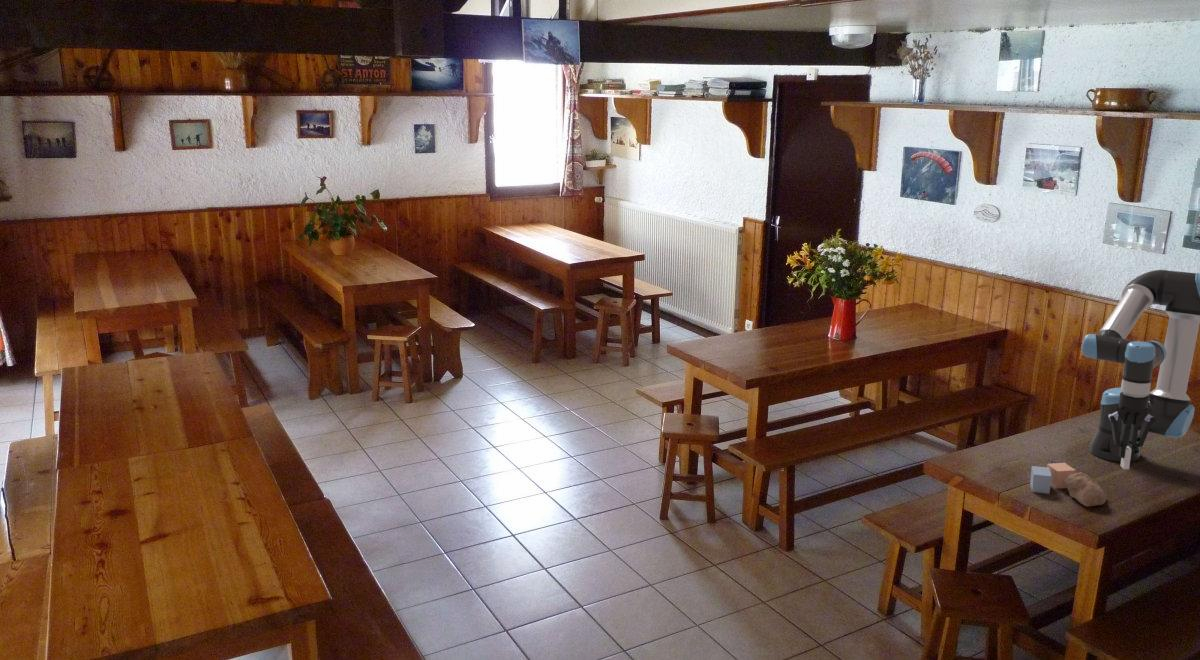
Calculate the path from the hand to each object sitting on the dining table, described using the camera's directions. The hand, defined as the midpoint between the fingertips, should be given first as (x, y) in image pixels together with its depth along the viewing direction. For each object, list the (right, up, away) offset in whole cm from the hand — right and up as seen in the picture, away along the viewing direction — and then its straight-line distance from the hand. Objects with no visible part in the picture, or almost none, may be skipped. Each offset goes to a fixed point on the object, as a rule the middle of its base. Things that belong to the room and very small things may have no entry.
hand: (1124, 467), depth 282 cm
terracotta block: (-12, -8, +16) cm, 21 cm away
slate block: (-20, -9, +13) cm, 25 cm away
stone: (-9, -11, +5) cm, 15 cm away
